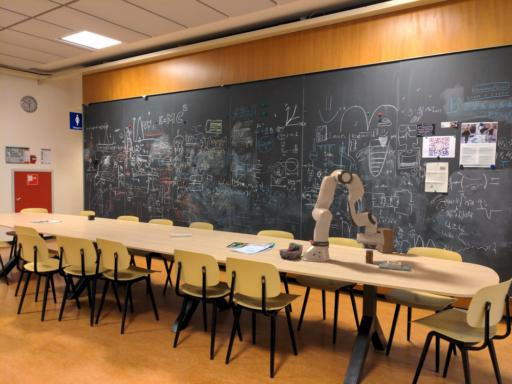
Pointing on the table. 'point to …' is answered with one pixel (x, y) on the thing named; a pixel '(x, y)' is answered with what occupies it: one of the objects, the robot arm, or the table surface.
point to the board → (394, 265)
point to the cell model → (292, 251)
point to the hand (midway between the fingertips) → (370, 248)
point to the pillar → (369, 256)
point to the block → (387, 240)
